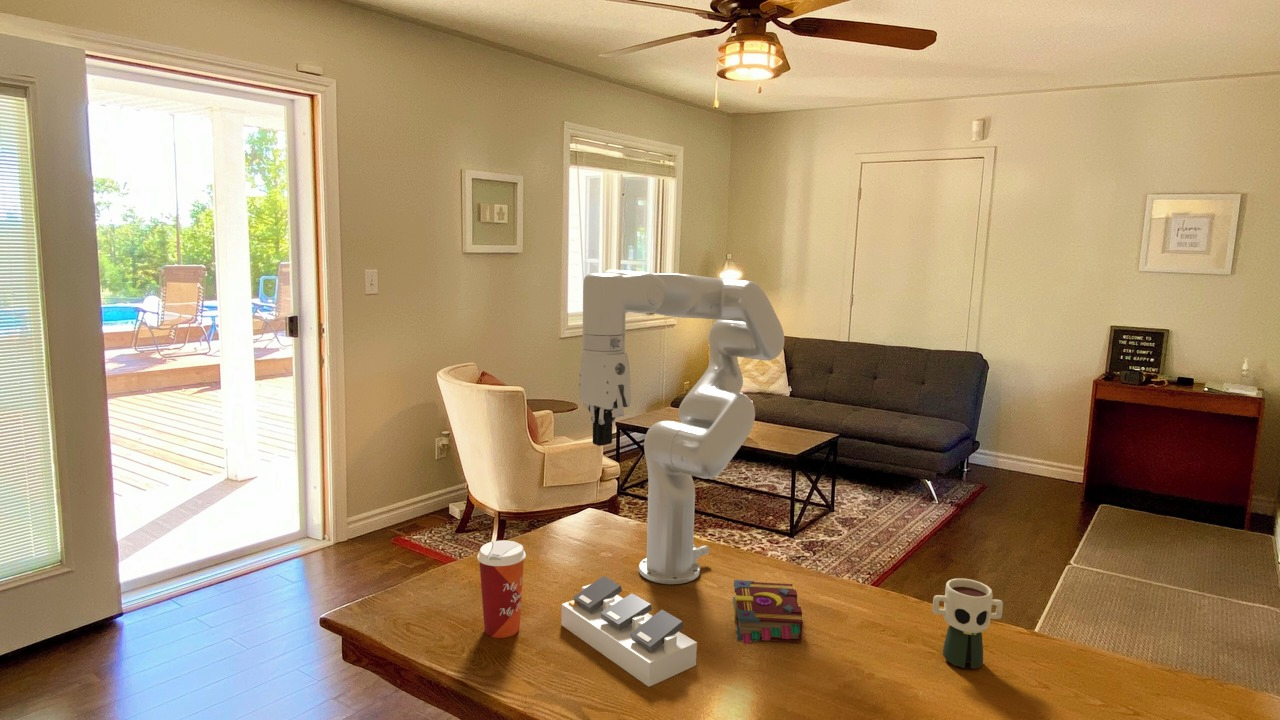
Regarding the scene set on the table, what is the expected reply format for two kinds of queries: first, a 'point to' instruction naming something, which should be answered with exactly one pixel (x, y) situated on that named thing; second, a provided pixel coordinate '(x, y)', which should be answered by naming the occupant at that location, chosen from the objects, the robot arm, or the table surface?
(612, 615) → the rocker mid
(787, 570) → the table surface
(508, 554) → the coffee cup
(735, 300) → the robot arm
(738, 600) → the decorative book
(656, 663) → the strip
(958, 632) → the character mug
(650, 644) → the rocker
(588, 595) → the rocker
